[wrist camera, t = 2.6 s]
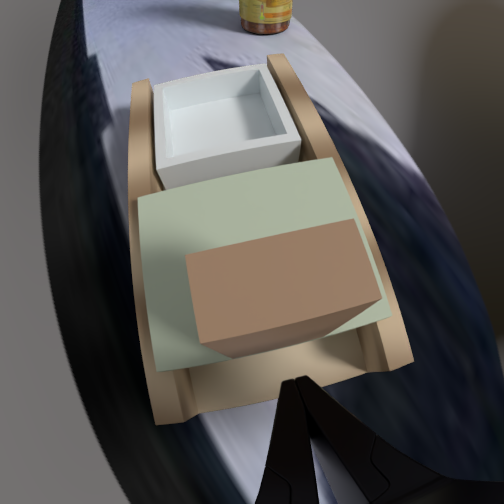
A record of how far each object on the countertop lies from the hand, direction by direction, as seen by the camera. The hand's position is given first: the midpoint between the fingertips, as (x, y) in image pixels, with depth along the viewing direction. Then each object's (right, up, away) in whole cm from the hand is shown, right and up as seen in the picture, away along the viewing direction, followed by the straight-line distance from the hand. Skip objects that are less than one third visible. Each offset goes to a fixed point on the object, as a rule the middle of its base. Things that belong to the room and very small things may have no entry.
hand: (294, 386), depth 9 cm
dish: (-4, +13, +13) cm, 19 cm away
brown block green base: (-1, +4, +6) cm, 7 cm away
